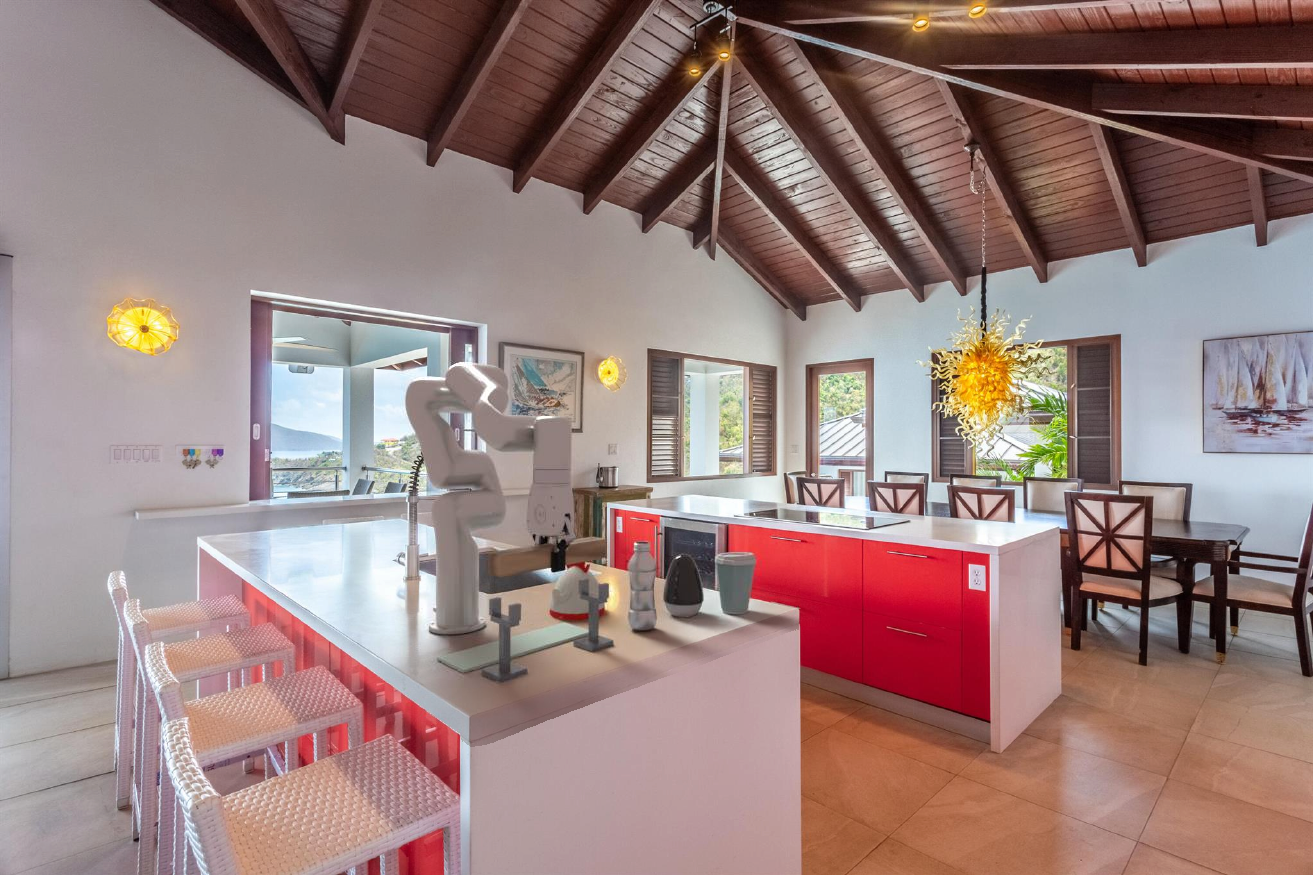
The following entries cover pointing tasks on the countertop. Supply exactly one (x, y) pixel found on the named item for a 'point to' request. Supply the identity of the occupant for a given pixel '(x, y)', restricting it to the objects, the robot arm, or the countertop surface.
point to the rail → (543, 556)
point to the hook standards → (506, 667)
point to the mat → (513, 647)
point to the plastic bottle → (642, 588)
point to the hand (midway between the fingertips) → (550, 568)
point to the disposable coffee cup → (735, 580)
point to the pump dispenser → (683, 587)
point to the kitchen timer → (573, 594)
